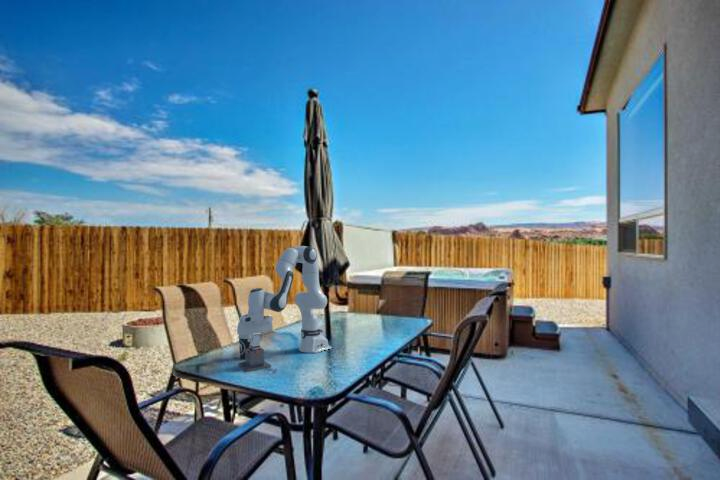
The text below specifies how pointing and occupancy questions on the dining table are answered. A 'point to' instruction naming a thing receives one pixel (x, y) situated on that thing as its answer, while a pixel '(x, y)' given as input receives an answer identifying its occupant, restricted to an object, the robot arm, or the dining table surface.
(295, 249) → the robot arm
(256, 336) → the column
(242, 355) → the coffee cup
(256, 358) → the stand
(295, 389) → the dining table surface
